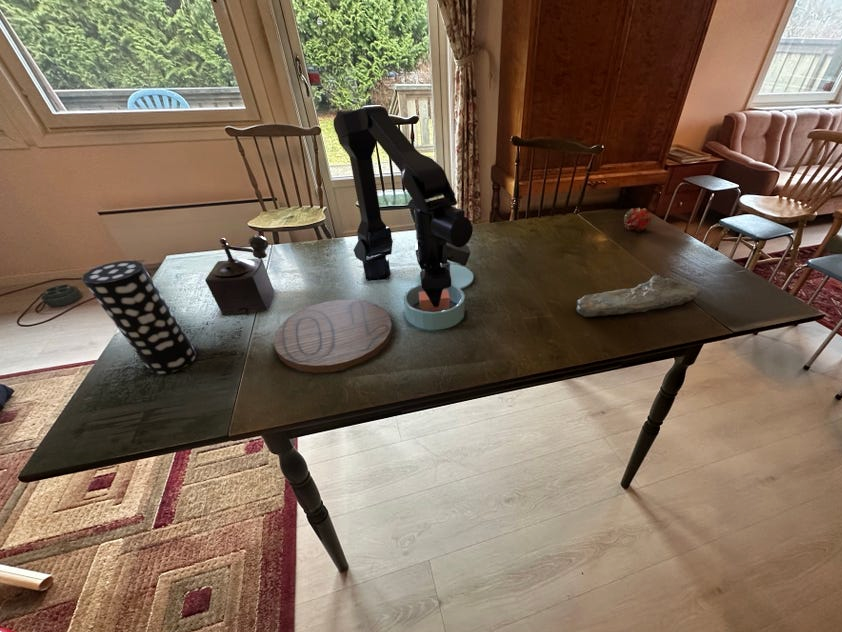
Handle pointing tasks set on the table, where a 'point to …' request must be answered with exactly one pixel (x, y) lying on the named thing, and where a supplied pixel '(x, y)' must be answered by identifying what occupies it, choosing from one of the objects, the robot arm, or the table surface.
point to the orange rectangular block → (428, 306)
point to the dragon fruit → (637, 219)
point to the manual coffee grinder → (241, 280)
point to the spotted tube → (141, 315)
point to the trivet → (332, 335)
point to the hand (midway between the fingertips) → (434, 296)
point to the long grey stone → (638, 298)
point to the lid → (458, 275)
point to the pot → (434, 318)
